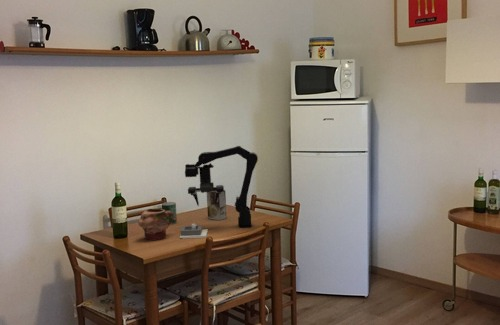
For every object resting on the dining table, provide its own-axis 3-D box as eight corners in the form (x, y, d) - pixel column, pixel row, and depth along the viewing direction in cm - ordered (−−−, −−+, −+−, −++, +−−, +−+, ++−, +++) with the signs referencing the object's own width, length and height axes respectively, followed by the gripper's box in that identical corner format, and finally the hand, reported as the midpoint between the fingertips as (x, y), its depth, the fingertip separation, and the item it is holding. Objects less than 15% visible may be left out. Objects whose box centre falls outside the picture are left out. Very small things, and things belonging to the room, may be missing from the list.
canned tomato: (178, 221, 309) (177, 201, 307) (175, 224, 301) (174, 204, 300) (164, 221, 310) (163, 202, 308) (160, 224, 302) (159, 205, 300)
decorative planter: (165, 231, 287) (164, 205, 285) (181, 234, 279) (179, 207, 277) (133, 239, 272) (132, 211, 271) (148, 243, 264) (147, 215, 262)
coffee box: (227, 218, 313) (225, 190, 311) (220, 220, 307) (219, 192, 305) (214, 216, 318) (212, 189, 316) (207, 218, 312) (206, 190, 310)
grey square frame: (202, 230, 283) (202, 225, 282) (200, 235, 273) (200, 230, 272) (182, 230, 283) (182, 226, 282) (180, 235, 273) (180, 230, 272)
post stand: (207, 231, 284) (207, 220, 284) (206, 237, 271) (205, 226, 271) (182, 232, 284) (182, 221, 283) (179, 238, 271) (179, 227, 270)
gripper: (186, 179, 281) (188, 209, 283) (222, 177, 282) (224, 207, 284) (187, 176, 292) (189, 205, 294) (222, 174, 293) (224, 203, 295)
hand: (206, 205), depth 292 cm, fingers open, 9 cm apart
